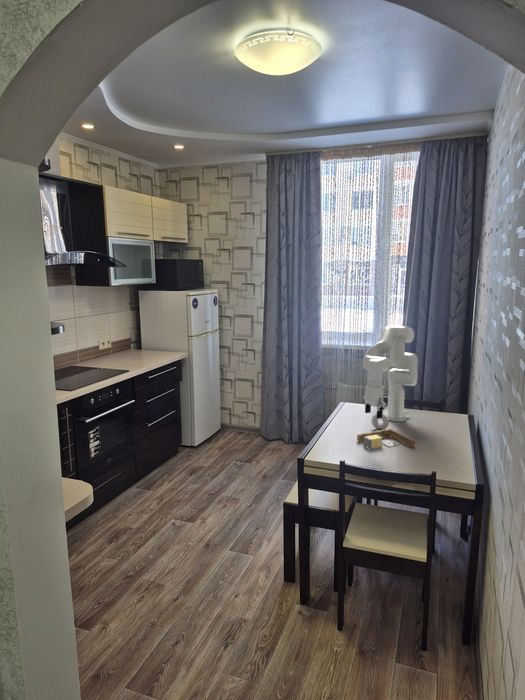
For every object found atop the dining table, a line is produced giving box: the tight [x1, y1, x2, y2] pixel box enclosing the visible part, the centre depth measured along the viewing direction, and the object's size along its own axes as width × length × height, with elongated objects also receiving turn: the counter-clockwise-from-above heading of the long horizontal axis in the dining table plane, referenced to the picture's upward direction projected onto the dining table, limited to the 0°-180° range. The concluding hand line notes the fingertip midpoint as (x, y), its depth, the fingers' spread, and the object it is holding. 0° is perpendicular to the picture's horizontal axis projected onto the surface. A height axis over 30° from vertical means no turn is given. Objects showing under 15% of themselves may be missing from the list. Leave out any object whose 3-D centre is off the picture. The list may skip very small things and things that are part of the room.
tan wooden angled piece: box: [356, 428, 416, 449], centre depth 245 cm, size 22×20×4 cm
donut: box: [371, 413, 390, 430], centre depth 267 cm, size 10×4×10 cm, turn 63°
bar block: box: [363, 435, 383, 449], centre depth 242 cm, size 8×5×5 cm, turn 114°
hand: (373, 415), depth 240 cm, fingers open, 9 cm apart
